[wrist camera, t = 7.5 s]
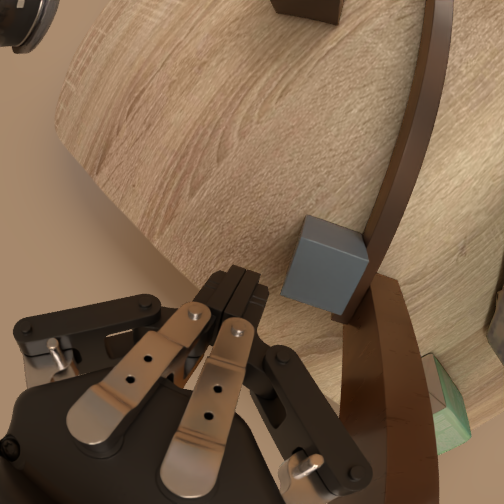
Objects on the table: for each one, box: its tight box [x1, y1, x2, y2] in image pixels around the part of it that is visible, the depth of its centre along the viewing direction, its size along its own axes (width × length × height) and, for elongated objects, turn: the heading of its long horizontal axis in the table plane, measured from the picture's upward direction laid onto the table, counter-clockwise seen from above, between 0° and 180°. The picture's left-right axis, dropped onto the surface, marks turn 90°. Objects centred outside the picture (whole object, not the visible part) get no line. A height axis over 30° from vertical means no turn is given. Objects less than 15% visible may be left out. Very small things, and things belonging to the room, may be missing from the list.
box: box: [421, 354, 471, 455], centre depth 21 cm, size 7×14×8 cm, turn 48°
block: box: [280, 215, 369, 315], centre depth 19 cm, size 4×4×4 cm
